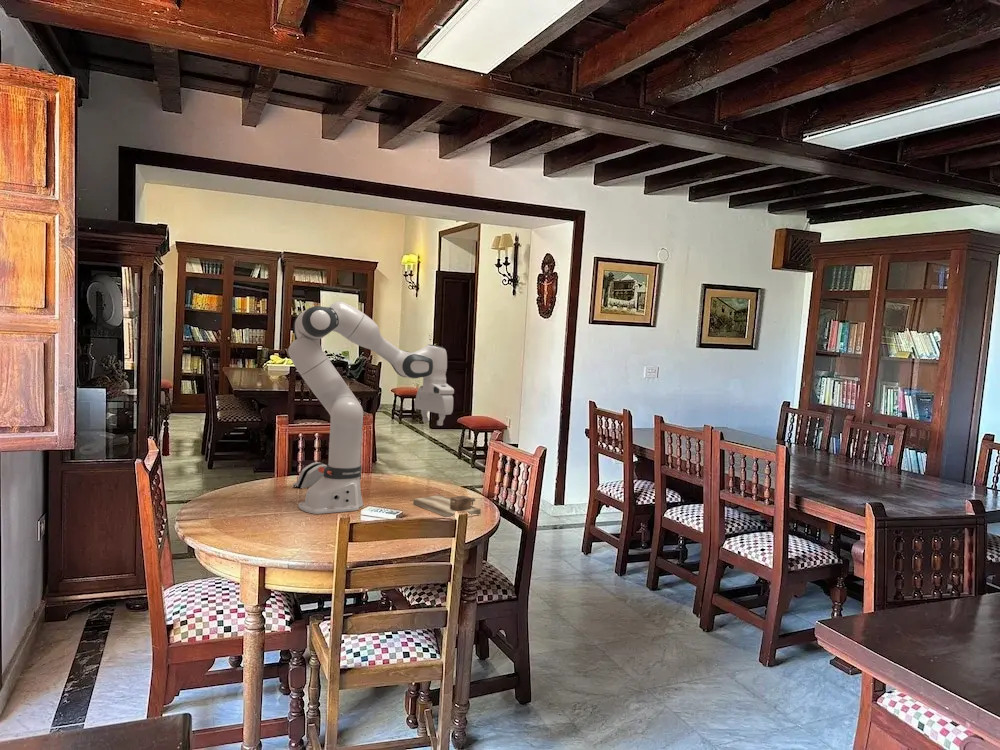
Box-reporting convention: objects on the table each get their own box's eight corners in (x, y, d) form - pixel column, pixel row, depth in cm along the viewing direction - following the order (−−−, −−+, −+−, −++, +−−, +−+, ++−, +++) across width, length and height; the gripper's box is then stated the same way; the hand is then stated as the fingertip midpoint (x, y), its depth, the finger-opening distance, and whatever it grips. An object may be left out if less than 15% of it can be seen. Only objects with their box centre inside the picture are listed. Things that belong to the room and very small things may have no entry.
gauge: (454, 511, 232) (455, 500, 232) (447, 509, 235) (448, 497, 235) (477, 507, 239) (477, 496, 239) (470, 505, 242) (470, 494, 242)
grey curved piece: (313, 479, 280) (322, 457, 278) (323, 484, 278) (331, 462, 277) (291, 487, 263) (299, 464, 262) (301, 493, 262) (310, 470, 261)
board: (453, 519, 229) (453, 513, 229) (413, 504, 247) (413, 498, 247) (480, 514, 237) (480, 509, 237) (439, 500, 255) (440, 494, 255)
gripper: (412, 385, 263) (410, 420, 264) (443, 390, 247) (441, 427, 248) (425, 385, 267) (423, 419, 268) (457, 390, 252) (455, 427, 252)
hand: (432, 423), depth 258 cm, fingers open, 8 cm apart
